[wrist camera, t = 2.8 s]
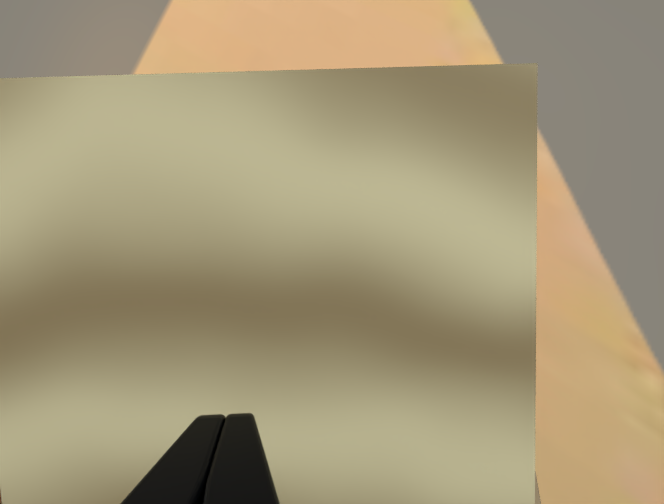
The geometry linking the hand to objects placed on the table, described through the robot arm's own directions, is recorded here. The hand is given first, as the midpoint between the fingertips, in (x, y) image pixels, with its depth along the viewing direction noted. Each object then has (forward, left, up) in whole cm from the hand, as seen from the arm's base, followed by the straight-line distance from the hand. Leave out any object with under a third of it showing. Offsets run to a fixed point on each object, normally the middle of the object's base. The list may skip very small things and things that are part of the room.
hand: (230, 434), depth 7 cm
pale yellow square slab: (+3, 0, -6) cm, 6 cm away
